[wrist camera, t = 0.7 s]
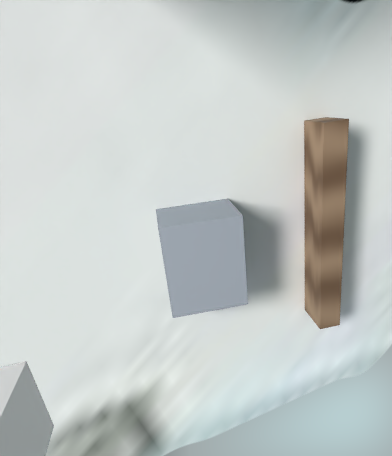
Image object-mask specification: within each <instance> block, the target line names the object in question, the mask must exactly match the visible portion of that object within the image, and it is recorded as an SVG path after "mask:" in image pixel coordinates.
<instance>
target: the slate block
mask: <svg viewBox="0 0 392 456" xmlns="http://www.w3.org/2000/svg"><path fill="white" fill-rule="evenodd" d="M156 214H157V222H158V230H159V236H160V242H161V248H162V254H163V260H164V266H165V273H166V279H167V285H168V291H169V297H170V303H171V310H172V316H173V318H176V317H181V316H186V315H192V314H197V313H203V312H208V311H214V310H219V309H225V308H230V307H235V306H241V305H246V304H248V296H247V279H246V262H245V245H244V228H243V215H242V214H241V213H240V212H239V211H238V209H237V208H236V207H235V206H234V205H233V204H232V203H231V202H230V200H229V199H222V200H216V201H209V202H202V203H196V204H189V205H182V206H176V207H169V208H162V209H156Z"/></svg>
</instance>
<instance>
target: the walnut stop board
mask: <svg viewBox="0 0 392 456" xmlns="http://www.w3.org/2000/svg"><path fill="white" fill-rule="evenodd" d="M348 127H349V119H342V118H329V117H326V118H319V119H312V120H306V121H304V142H305V310H306V312H307V313H308V314H309V316H310V317H311V318H312V319H313V321H314V322H315V323H316V324H317V326H318V327H319V328H320V329H323V328H328V327H332V326H337V325H340V304H341V282H342V260H343V238H344V216H345V193H346V171H347V149H348Z"/></svg>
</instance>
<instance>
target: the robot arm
mask: <svg viewBox="0 0 392 456" xmlns="http://www.w3.org/2000/svg"><path fill="white" fill-rule="evenodd" d="M53 427H54V425H53V422H52V420H51V418H50V415H49V413H48V411H47V408H46V406H45V404H44V401H43V399H42V397H41V394H40V392H39V390H38V387H37V385H36V383H35V380H34V378H33V376H32V373H31V371H30V369H29V366H28V364H27V362H26V361H25V362H21V363H16V364H12V365H7V366H3V367H0V456H45V455H46V452H47V448H48V445H49V441H50V438H51V434H52V430H53Z"/></svg>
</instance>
